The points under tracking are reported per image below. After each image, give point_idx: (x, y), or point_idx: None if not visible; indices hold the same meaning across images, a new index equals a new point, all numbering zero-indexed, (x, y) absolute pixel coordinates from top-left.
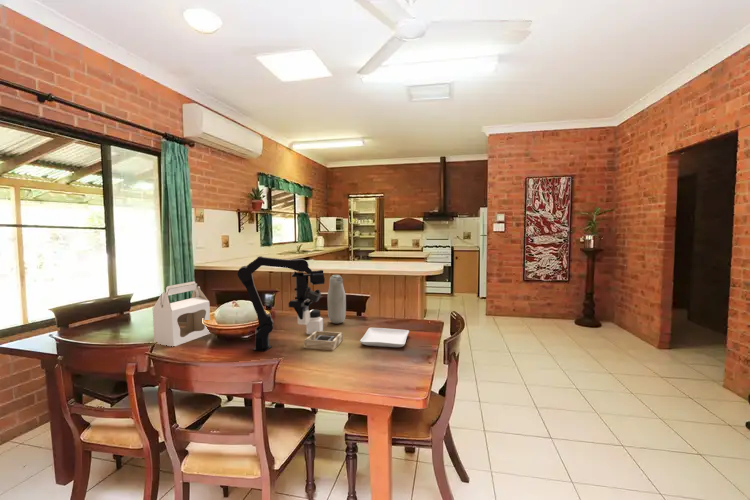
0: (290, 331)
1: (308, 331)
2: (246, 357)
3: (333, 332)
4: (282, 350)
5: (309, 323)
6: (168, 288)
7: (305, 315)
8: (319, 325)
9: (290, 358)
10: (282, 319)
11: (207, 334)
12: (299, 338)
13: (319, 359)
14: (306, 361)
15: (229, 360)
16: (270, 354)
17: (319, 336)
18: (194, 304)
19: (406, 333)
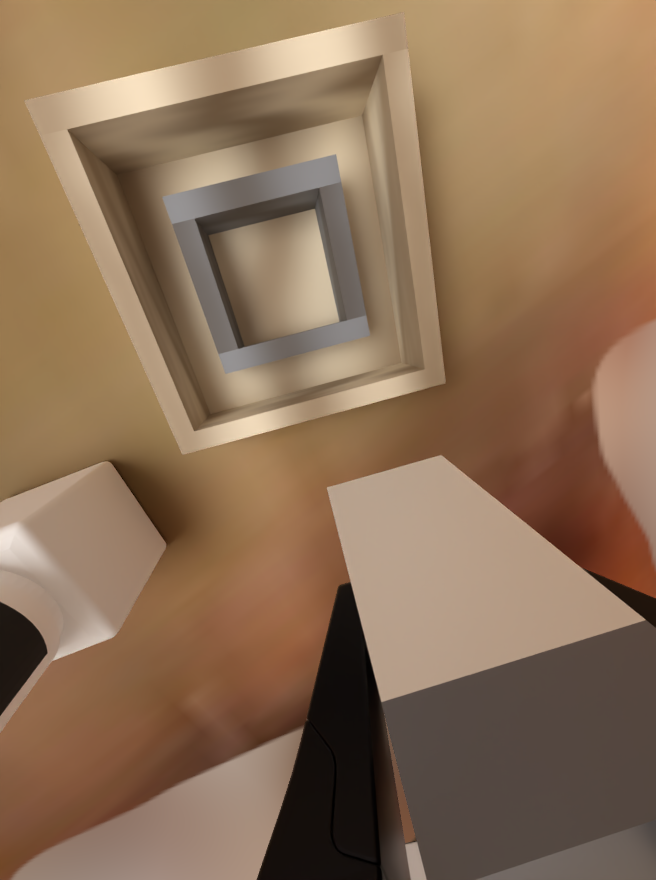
0: (184, 657)
1: (151, 547)
2: (612, 557)
3: (107, 234)
4: (489, 475)
5: (110, 592)
6: None
7: (538, 534)
8: (54, 499)
9: (597, 341)
10: (33, 825)
11: (410, 842)
12: (264, 530)
13: (588, 103)
14: (634, 192)
15: (651, 587)
16: (558, 490)
17: (257, 349)
18: None
19: None
